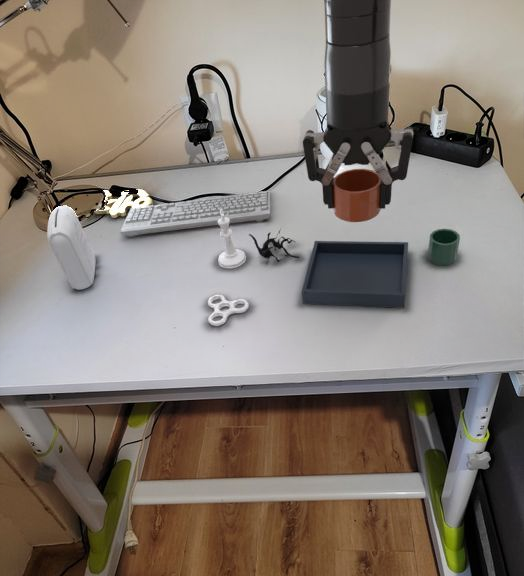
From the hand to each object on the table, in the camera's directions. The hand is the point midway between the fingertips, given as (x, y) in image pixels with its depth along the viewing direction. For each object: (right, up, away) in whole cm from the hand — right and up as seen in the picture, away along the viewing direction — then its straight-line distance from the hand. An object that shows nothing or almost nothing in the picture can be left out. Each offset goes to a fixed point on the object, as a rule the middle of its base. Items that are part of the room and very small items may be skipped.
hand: (357, 205), depth 71 cm
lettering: (-49, +11, +38) cm, 63 cm away
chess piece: (-19, -5, +18) cm, 26 cm away
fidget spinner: (-19, -14, +9) cm, 25 cm away
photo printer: (-46, -7, +21) cm, 51 cm away
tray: (+2, -9, +10) cm, 13 cm away
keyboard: (-26, +6, +30) cm, 40 cm away
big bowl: (0, 0, +1) cm, 1 cm away
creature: (-10, -4, +17) cm, 21 cm away
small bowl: (+16, -6, +10) cm, 19 cm away
